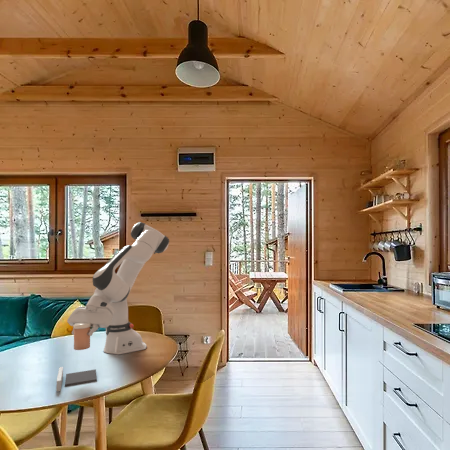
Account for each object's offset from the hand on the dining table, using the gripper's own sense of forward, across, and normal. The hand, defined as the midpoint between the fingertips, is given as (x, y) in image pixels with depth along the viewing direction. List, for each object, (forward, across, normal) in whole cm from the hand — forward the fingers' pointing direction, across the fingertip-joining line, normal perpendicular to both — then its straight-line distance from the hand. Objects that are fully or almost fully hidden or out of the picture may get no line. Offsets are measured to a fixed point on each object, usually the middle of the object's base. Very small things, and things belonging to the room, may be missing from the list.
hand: (81, 334), depth 140 cm
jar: (+4, 0, +4) cm, 6 cm away
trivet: (+13, 0, +13) cm, 18 cm away
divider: (+17, -5, +9) cm, 20 cm away
